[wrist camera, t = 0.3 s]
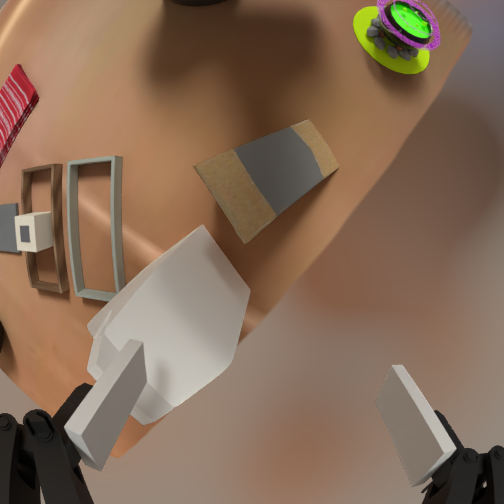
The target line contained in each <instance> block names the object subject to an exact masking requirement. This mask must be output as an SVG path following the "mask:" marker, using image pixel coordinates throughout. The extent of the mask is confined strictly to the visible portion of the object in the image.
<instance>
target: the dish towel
mask: <svg viewBox="0 0 504 504" xmlns="http://www.w3.org/2000/svg"><path fill="white" fill-rule="evenodd" d="M38 100H39V96H38V94H37V92H36V90H35V88H34V86H33V85H32V83H31V82H30V81H29V79H28V78H27V76H26V74H25V72H24V71H23V69H22V66H21V65H20V64H17V65H16V66H15V67H14V68H13V70H12V72H11V73H10V75H9V77H8V79H7V80H6V82H5V83H4V85H3V87H2V89H1V90H0V167H1V164H2V163H3V161H4V159H5V157H6V155H7V153H8V151H9V149H10V147H11V145H12V143H13V141H14V140H15V137H16V136H17V134H18V132H19V130H20V129H21V127H22V125H23V124H24V122H25V120H26V119H27V117H28V115H29V114H30V112H31V110H32V109H33V107H34V105H35V104H36V102H37V101H38Z"/></svg>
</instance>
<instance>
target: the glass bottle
mask: <svg viewBox="0 0 504 504" xmlns="http://www.w3.org/2000/svg"><path fill="white" fill-rule="evenodd" d="M2 344H3V333H2V328H1V325H0V352H1V349H2Z"/></svg>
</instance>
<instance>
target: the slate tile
mask: <svg viewBox="0 0 504 504" xmlns="http://www.w3.org/2000/svg"><path fill="white" fill-rule="evenodd" d="M15 216H19V214H18V203H14V204H4V205H0V251H8V252H17V253H20V252H22V251H20V250H17V241H16V230H15Z"/></svg>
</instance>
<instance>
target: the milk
mask: <svg viewBox="0 0 504 504" xmlns="http://www.w3.org/2000/svg"><path fill="white" fill-rule="evenodd" d="M250 292H251V290H250V289H249V287H248V286H247V284H246V283H245V282H244V280H243V279H242V278H241V276H240V275H239V274H238V272H237V271H236V270H235V268H234V267H233V265H232V264H231V263H230V261H229V260H228V259H227V257H226V256H225V254H224V253H223V252H222V250H221V249H220V247H219V246H218V245H217V243H216V242H215V241H214V239H213V238H212V236H211V235H210V234H209V232H208V231H207V229H206V228H205V227H204V225H203V224H202V225H201V226H199V227H198V228H197V229H195V230H194V231H193V232H191V233H190V234H188V235H187V236H186V237H184V238H183V239H182V240H180V241H179V242H178V243H176V244H175V245H174V246H172V247H171V248H170V249H168V250H167V251H166V252H165V253H163V254H162V255H161V256H159V257H158V258H157V259H155V260H154V261H153V262H152V263H150V264H149V265H148V266H146V267H145V268H144V269H143V270H142V271H141V272H140V273H139V274H138V275H137V276H136V277H134V278H133V279H132V280H131V281H130V282H129V283H128V284H127V285H126V286H125V287H124V288H123V289H122V290H121V291H120V292H119V293H118V294H117V295H116V296H115V297H113V298H112V299H111V300H110V301H109V302H108V303H107V304H106V305H105V306H104V307H103V308H102V309H101V310H100V311H99V312H98V313H97V314H96V315H95V316H94V317H93V318H92V319H91V320H90V322H89V323H88V325H87V328H88V330H89V332H90V334H91V335H92V337H93V339H94V341H93V344H92V348H91V353H90V357H89V362H88V366H87V371H88V372H89V373H90V374H91V375H92V376H93V377H94V378H95V380H96V381H98V379H99V378H100V377H101V375H102V374H103V373H104V371H105V370H106V369H107V368H108V366H109V365H110V364H111V362H112V361H113V360H114V358H115V357H116V356H117V355H118V353H119V352H120V351H121V349H122V348H123V347H124V346H125V344H126V343H127V342H128V340H129V339H133V340H137V341H142V342H143V345H144V356H145V366H146V375H147V383H146V385H145V387H144V389H143V391H142V392H141V394H140V396H139V398H138V400H137V402H136V404H135V406H134V408H133V409H132V411H131V413H130V414H131V415H132V416H133V417H134V418H135V419H136V420H137V421H139V422H140V423H141V424H142V425H146V424H149V423H153V422H155V421H157V420H158V419H160V418H161V417H163V416H164V415H166V414H167V413H168V412H170V411H171V410H173V407H177V406H179V405H180V404H181V403H183V402H184V401H185V400H187V399H188V398H190V397H191V396H192V395H194V394H195V393H197V392H198V391H199V390H201V389H202V388H203V387H205V386H206V385H207V384H209V383H210V382H211V381H213V380H214V379H215V378H216V377H218V376H219V375H220V374H221V373H222V372H224V371H225V370H226V369H227V368H228V367H229V365H230V364H231V363H232V361H233V359H234V356H235V352H236V348H237V344H238V340H239V336H240V332H241V328H242V324H243V320H244V316H245V312H246V308H247V304H248V300H249V296H250Z"/></svg>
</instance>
